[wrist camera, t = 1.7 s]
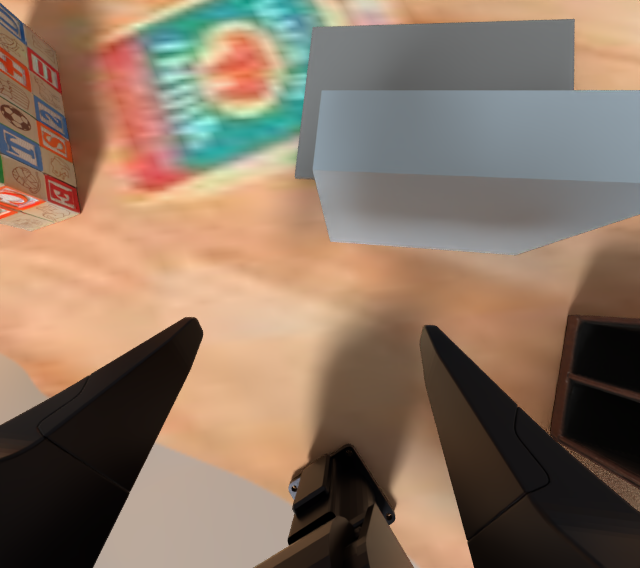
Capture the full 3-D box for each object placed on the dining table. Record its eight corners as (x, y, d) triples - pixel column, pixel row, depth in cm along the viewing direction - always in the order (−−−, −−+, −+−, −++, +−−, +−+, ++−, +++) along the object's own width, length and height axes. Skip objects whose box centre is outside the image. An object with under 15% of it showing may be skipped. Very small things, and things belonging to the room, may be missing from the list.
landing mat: (568, 190, 21) (572, 187, 21) (295, 178, 24) (294, 176, 24) (570, 24, 23) (574, 18, 22) (313, 31, 26) (312, 27, 25)
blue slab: (515, 255, 21) (724, 186, 10) (330, 241, 23) (312, 170, 11) (516, 210, 22) (720, 90, 10) (334, 200, 24) (321, 90, 12)
